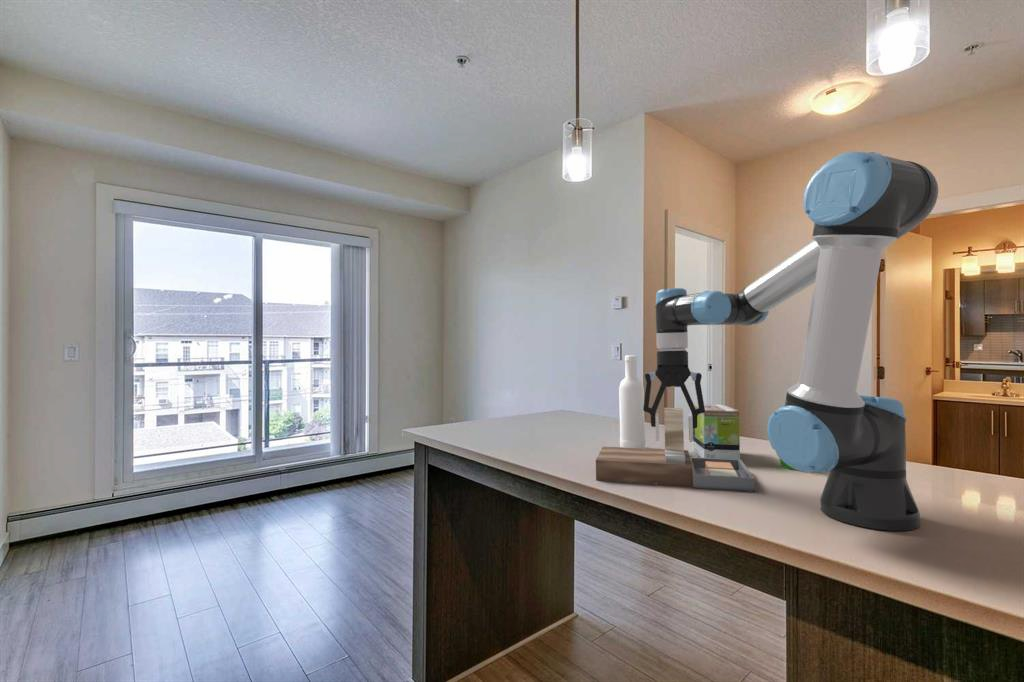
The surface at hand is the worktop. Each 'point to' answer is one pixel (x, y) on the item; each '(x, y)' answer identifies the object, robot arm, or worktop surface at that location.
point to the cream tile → (722, 472)
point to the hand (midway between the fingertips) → (674, 440)
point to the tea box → (717, 433)
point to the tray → (722, 482)
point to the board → (641, 466)
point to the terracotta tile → (718, 466)
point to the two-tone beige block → (674, 436)
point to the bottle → (631, 407)
